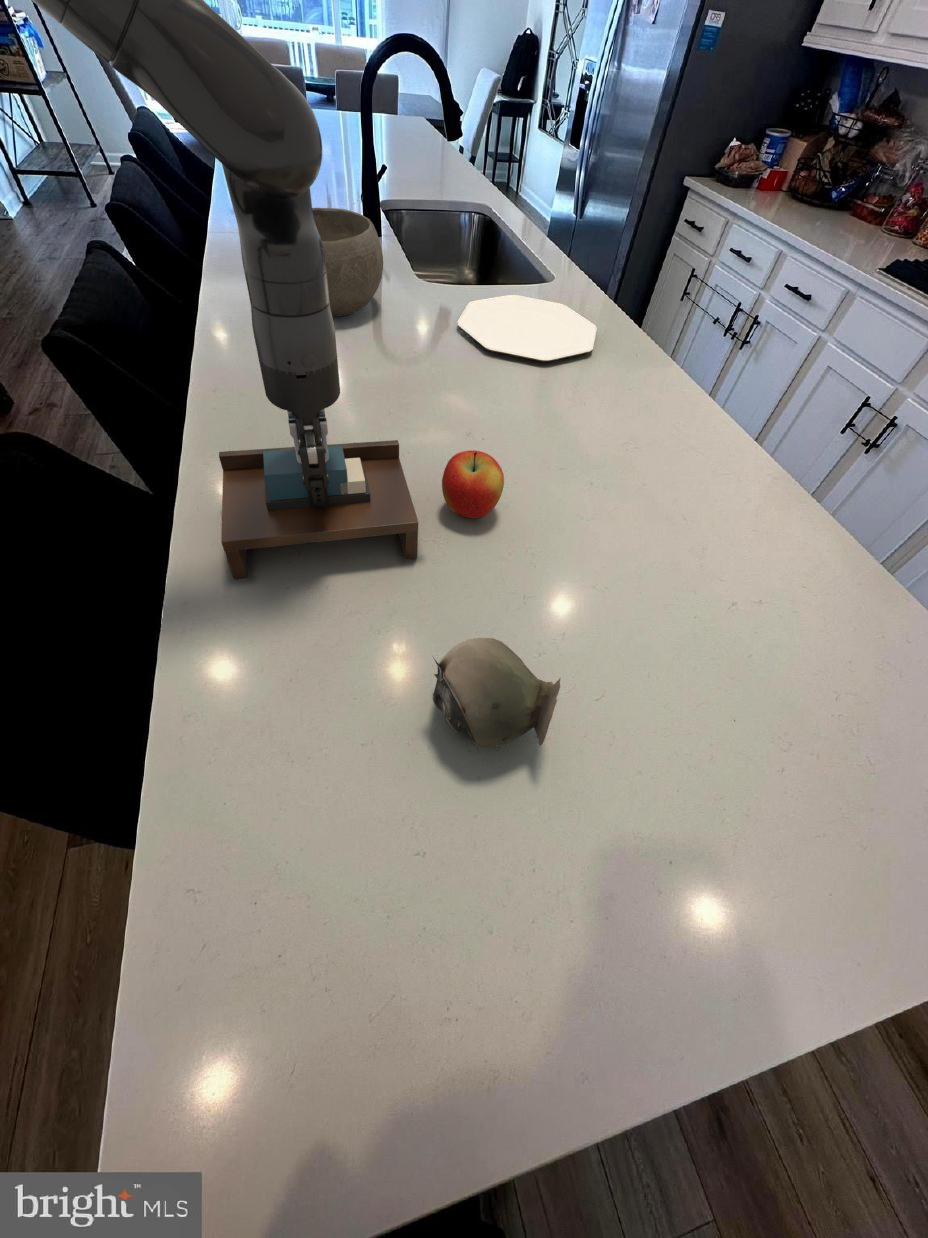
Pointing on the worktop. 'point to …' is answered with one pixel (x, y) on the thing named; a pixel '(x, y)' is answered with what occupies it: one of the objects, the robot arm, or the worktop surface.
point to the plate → (528, 328)
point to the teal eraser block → (288, 480)
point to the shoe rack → (269, 528)
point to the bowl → (349, 258)
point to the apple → (472, 483)
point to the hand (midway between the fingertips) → (317, 490)
